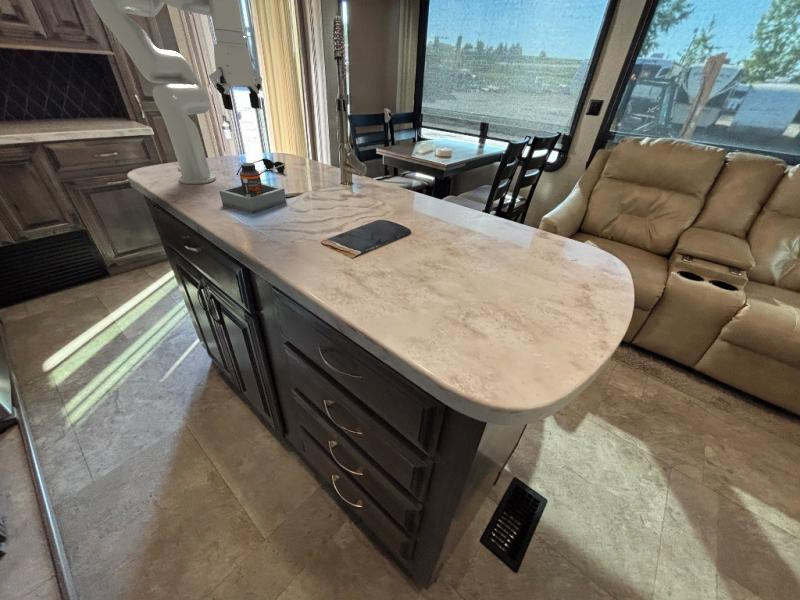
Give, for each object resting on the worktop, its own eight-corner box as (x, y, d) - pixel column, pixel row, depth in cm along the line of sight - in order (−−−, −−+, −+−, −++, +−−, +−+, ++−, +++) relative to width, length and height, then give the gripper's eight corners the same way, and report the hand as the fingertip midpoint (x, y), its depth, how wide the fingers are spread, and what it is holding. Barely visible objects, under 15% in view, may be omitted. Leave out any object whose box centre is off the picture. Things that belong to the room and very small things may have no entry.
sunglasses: (287, 174, 141) (284, 162, 138) (256, 185, 130) (253, 172, 127) (265, 169, 147) (262, 157, 144) (234, 178, 136) (230, 166, 133)
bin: (222, 204, 106) (219, 190, 104) (256, 194, 117) (254, 181, 114) (253, 213, 101) (250, 199, 99) (286, 201, 112) (284, 188, 109)
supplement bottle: (251, 204, 105) (243, 167, 99) (241, 199, 108) (233, 163, 102) (268, 200, 109) (261, 164, 103) (257, 196, 112) (250, 161, 106)
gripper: (247, 42, 100) (257, 106, 110) (192, 35, 88) (209, 108, 98) (264, 43, 98) (272, 109, 108) (210, 36, 85) (225, 111, 95)
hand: (242, 108), depth 103 cm, fingers open, 9 cm apart
